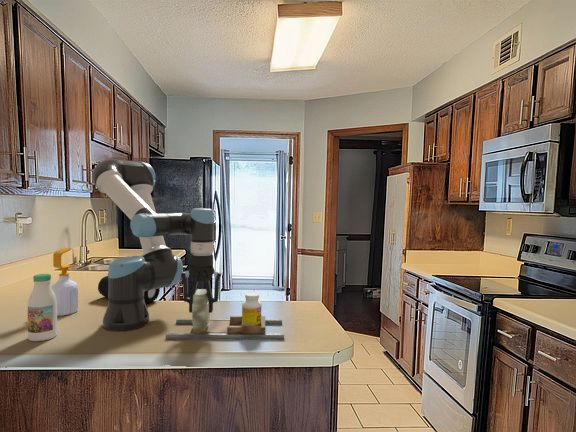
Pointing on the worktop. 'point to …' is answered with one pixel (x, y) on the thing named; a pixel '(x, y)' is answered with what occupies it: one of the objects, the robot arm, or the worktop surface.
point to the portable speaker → (148, 295)
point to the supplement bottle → (251, 310)
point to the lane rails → (224, 335)
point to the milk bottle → (42, 310)
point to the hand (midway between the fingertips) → (200, 321)
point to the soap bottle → (64, 287)
